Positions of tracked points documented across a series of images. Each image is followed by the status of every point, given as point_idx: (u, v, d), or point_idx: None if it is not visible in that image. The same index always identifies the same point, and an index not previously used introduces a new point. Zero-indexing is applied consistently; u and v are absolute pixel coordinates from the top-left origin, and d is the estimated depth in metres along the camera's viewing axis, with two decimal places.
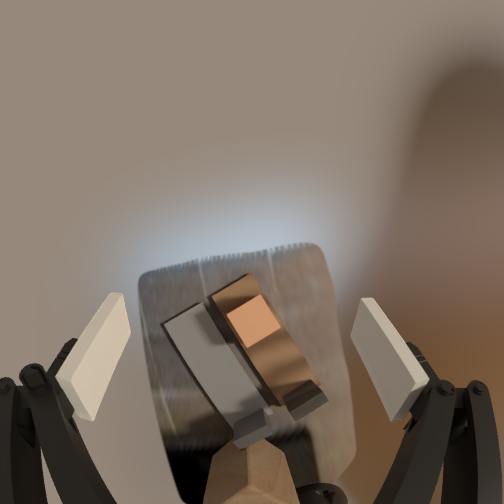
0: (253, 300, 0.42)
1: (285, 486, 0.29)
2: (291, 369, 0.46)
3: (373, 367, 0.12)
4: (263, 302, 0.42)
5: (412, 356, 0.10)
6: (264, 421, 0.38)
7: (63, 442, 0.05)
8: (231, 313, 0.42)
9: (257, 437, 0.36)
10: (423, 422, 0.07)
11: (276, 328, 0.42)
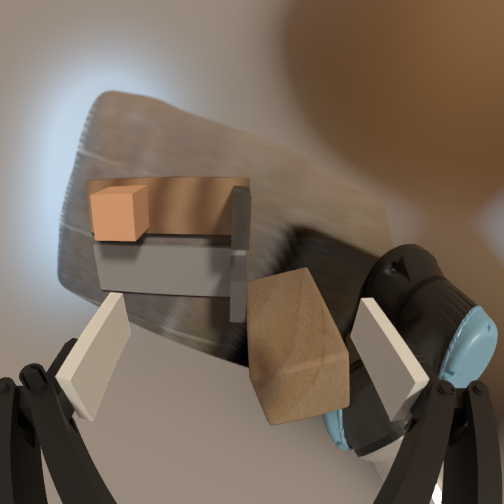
0: (93, 205, 0.31)
1: (312, 328, 0.29)
2: (206, 199, 0.37)
3: (373, 367, 0.12)
4: (99, 196, 0.30)
5: (412, 356, 0.10)
6: (230, 276, 0.35)
7: (62, 442, 0.05)
8: (96, 234, 0.32)
9: (241, 298, 0.34)
10: (423, 422, 0.07)
11: (130, 199, 0.31)
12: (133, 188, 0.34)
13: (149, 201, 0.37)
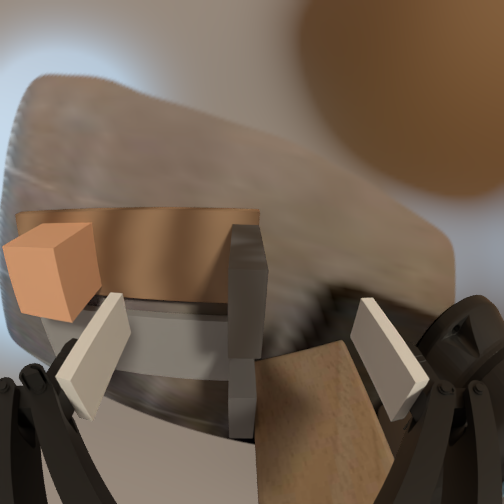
0: (8, 263, 0.15)
1: (360, 468, 0.14)
2: (186, 247, 0.22)
3: (373, 368, 0.12)
4: (12, 249, 0.15)
5: (412, 356, 0.10)
6: None
7: (63, 442, 0.05)
8: (20, 305, 0.17)
9: (246, 416, 0.19)
10: (423, 422, 0.07)
11: (52, 257, 0.15)
12: (66, 231, 0.19)
13: (97, 248, 0.22)
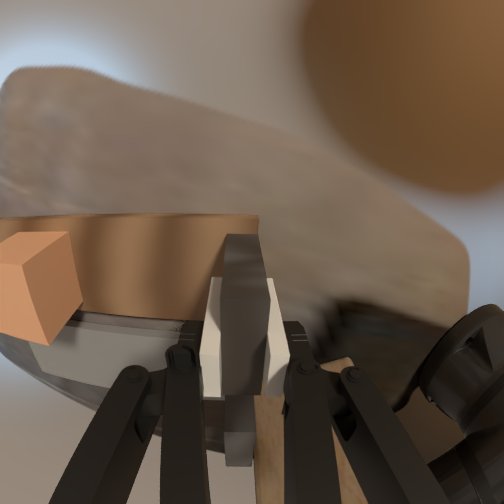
0: None
1: None
2: (173, 259, 0.19)
3: None
4: None
5: (282, 332, 0.12)
6: (224, 413, 0.16)
7: (190, 429, 0.07)
8: None
9: (244, 447, 0.16)
10: (293, 410, 0.08)
11: (22, 275, 0.12)
12: (40, 242, 0.15)
13: (75, 260, 0.18)
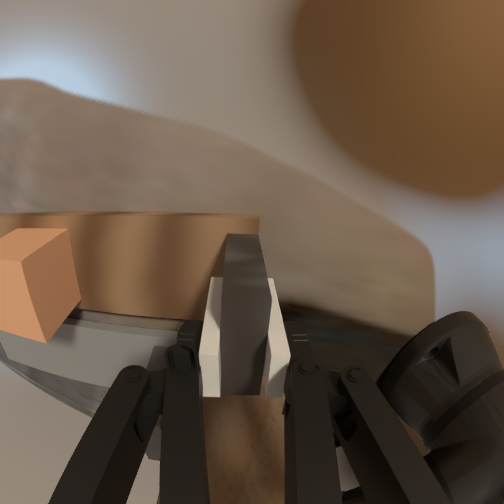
0: None
1: None
2: (173, 258, 0.19)
3: None
4: None
5: (283, 332, 0.12)
6: None
7: (190, 429, 0.07)
8: None
9: (156, 441, 0.15)
10: (294, 410, 0.08)
11: (20, 271, 0.12)
12: (39, 238, 0.15)
13: (75, 257, 0.18)
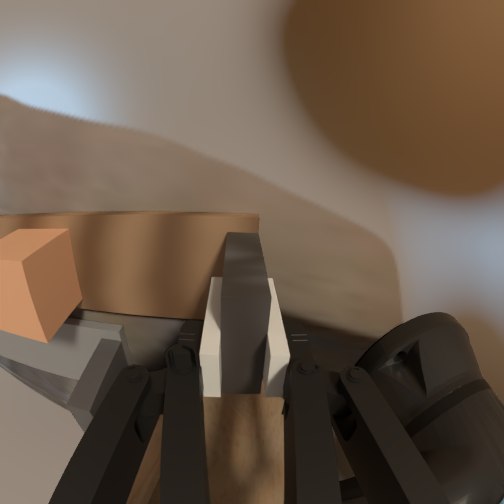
0: None
1: None
2: (173, 257, 0.19)
3: None
4: None
5: (282, 332, 0.12)
6: (75, 390, 0.16)
7: (190, 429, 0.07)
8: None
9: None
10: (293, 410, 0.08)
11: (21, 271, 0.12)
12: (40, 239, 0.15)
13: (75, 257, 0.18)
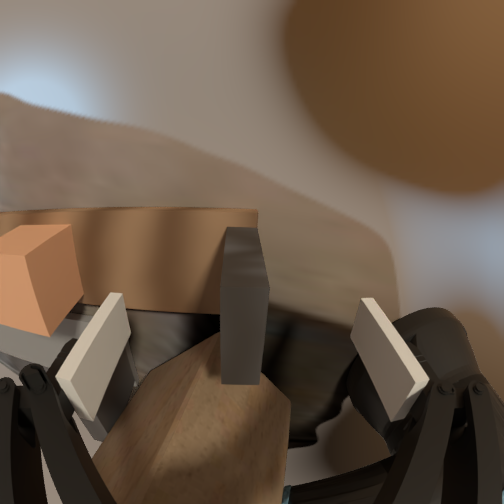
0: None
1: (118, 490, 0.09)
2: (174, 252, 0.19)
3: (373, 367, 0.12)
4: None
5: (412, 356, 0.10)
6: None
7: (62, 442, 0.05)
8: None
9: None
10: (423, 422, 0.07)
11: (24, 265, 0.13)
12: (42, 234, 0.16)
13: (77, 252, 0.19)
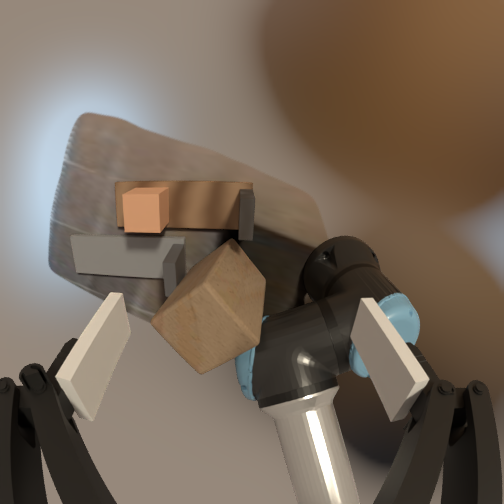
0: (124, 203, 0.39)
1: (200, 276, 0.36)
2: (217, 199, 0.46)
3: (373, 367, 0.12)
4: (130, 196, 0.39)
5: (412, 356, 0.10)
6: (165, 259, 0.43)
7: (63, 442, 0.05)
8: (125, 227, 0.41)
9: (171, 276, 0.42)
10: (423, 422, 0.07)
11: (157, 198, 0.39)
12: (157, 189, 0.43)
13: (169, 200, 0.46)
